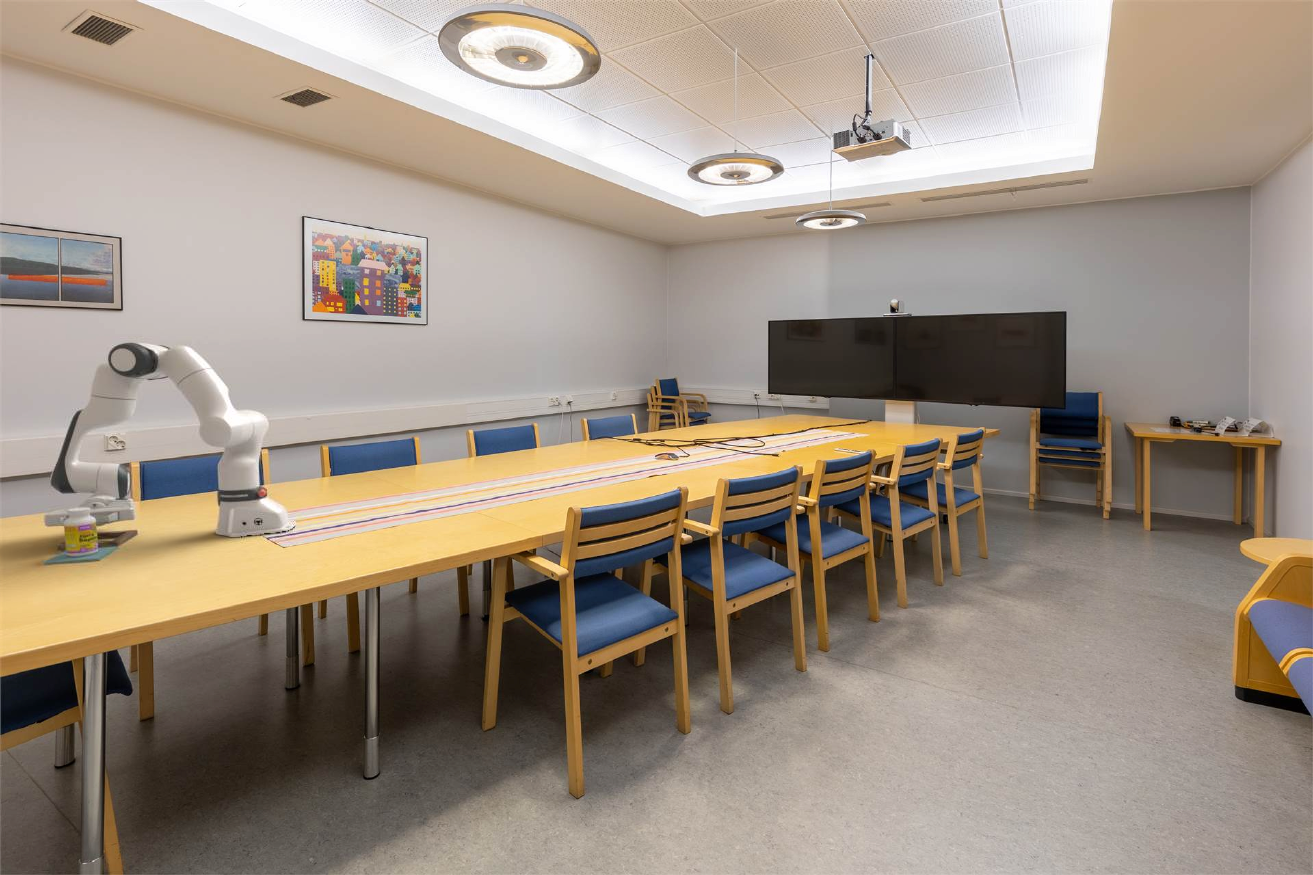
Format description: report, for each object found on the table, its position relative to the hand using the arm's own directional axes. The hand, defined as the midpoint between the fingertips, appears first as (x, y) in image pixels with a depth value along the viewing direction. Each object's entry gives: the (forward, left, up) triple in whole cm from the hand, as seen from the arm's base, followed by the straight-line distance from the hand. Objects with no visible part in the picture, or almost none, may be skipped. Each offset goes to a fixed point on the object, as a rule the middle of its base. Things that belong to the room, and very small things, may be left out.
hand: (85, 521), depth 182 cm
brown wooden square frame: (+1, -9, -9) cm, 13 cm away
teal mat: (-1, +6, -9) cm, 10 cm away
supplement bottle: (-1, +6, -8) cm, 10 cm away
